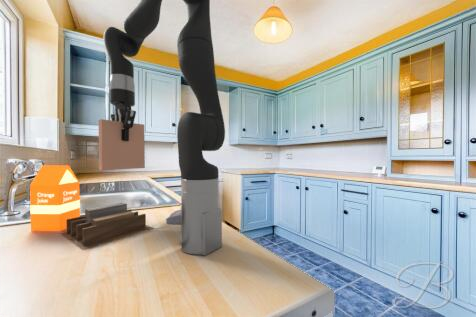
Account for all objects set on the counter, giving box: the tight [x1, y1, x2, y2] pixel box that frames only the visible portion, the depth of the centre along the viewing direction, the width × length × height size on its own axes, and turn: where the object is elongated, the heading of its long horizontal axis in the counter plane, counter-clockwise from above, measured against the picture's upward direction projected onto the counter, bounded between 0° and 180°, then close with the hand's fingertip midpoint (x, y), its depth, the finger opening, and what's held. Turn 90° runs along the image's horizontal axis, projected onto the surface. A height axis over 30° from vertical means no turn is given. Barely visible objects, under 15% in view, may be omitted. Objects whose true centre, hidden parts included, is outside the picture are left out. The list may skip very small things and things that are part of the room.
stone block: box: [165, 209, 181, 225], centre depth 72 cm, size 12×5×10 cm
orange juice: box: [29, 165, 81, 232], centre depth 64 cm, size 8×9×20 cm
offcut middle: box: [84, 202, 128, 223], centre depth 61 cm, size 3×10×7 cm, turn 144°
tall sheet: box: [98, 119, 146, 171], centre depth 71 cm, size 2×14×16 cm, turn 144°
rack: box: [59, 209, 155, 251], centre depth 60 cm, size 18×18×5 cm
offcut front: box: [91, 210, 135, 226], centre depth 58 cm, size 3×10×5 cm, turn 144°
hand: (123, 141), depth 71 cm, fingers closed on tall sheet, 2 cm apart
